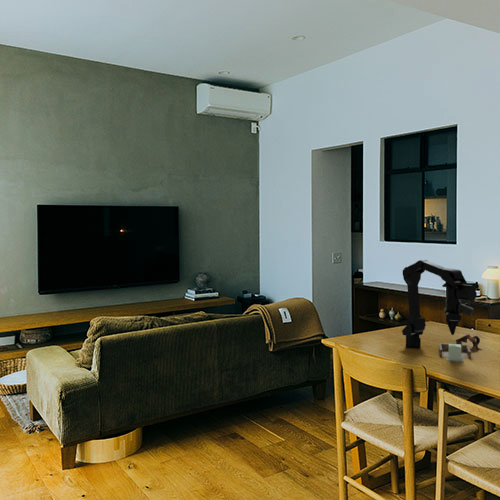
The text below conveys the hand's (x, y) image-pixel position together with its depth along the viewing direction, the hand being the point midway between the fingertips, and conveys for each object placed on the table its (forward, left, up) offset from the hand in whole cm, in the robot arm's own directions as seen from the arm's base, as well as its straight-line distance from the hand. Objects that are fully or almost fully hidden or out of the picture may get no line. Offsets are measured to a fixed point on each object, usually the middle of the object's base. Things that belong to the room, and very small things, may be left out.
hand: (452, 332), depth 230 cm
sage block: (+1, -3, -11) cm, 12 cm away
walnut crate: (+2, +8, -12) cm, 14 cm away
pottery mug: (+9, +21, -12) cm, 26 cm away
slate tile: (+1, -3, -12) cm, 12 cm away
